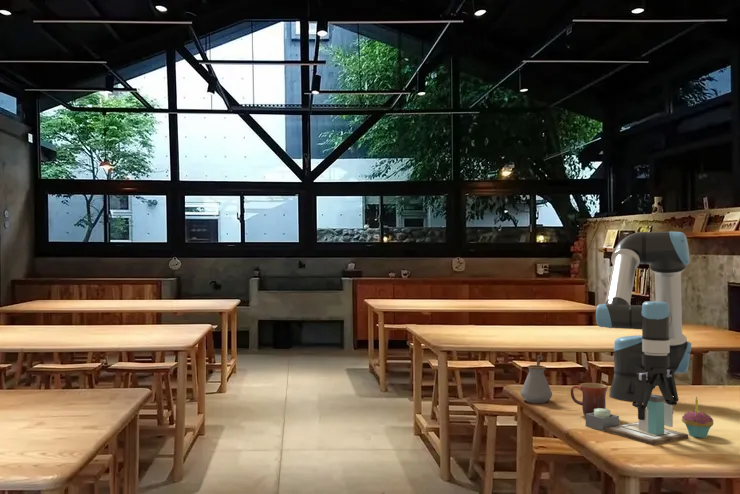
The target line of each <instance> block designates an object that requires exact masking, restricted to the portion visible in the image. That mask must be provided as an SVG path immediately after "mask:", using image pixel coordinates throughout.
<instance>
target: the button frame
mask: <svg viewBox="0 0 740 494" xmlns="http://www.w3.org/2000/svg"><path fill="white" fill-rule="evenodd" d="M618 425H620V415H616V414H612V413H610V417H605V418H602V417H598V416H594V413H588V414H586V416H585V427H589V428H592V429H595V430H598V431H601V432H606V431H605V428H606V427H612V426H618Z"/></svg>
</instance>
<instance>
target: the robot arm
mask: <svg viewBox="0 0 740 494" xmlns="http://www.w3.org/2000/svg"><path fill="white" fill-rule="evenodd" d="M612 251H613V252H612V254H611V259H610V262H611V264H612V269H611V273H610V278H609V283H608V287H607V291H606V292H607V293H606V298H605V302H604V303H600V304H597V306H596V308H595V309H596V310H595V320H596V324H597V326H598V327H600V328H607V329H624V330H625V329H626V330H642V331H641V334H642V335H637V334H636V335H625V336H620V337H617V338H616V339H614V344H613V345H614V347H613V352H614V353H613V356H614V357H613V359H614V364H613V372H614V373H613V374H614V375H613V378H612V382H611V385H610V387H609V395H608V396H609V397H611V398H613V399H616V400H622V401H632V403H631V404H632V407H634V408H637V419H638V422H639V430H642V431H645V432H648V409H647V404H648V401H649V399H650V396H651V395H652V394H653V391H654V389H655V388H656V386H658V388H659V390H660V393H661V396H664V427H669V428H673V427H674V425H673V423H674V422H673V420H674V416H673V415H674V406H676V405H678V402H679V394H678V390H677V386H676V381H675V374H685V373H687V372H688V370H689V367H690V365H689V364H690V357H691V352H692V351H691V350H692V343H691V342H689V341H688V338H687V336H686V335H685V334H683V312H682V310H683V307H682V304H683V302H682V273H683V272H684V271H686V266H687V265H690V263H691V257H690V249H689V243H688V238H687V235H686V234H685V232H682V231H673V230H671V231H670V230H669V231H639V232H634V233H631V234H629V235H628V236H625V237H624V238H623V239H622V240H620V241H619V242H618V243H617V244H616V245H615V248H614V249H613V250H612ZM640 265H649V269H650V271H651V272H653V274H654V291H655V293H654V295H655V301H652V300H651V301H644V302H643V303H642V305H638V304H637V305H634V304H632V305H631V302H632V301H631V299H632V293H633V288H634V281H635V274H636V269H637V268H638V267H639V266H640Z"/></svg>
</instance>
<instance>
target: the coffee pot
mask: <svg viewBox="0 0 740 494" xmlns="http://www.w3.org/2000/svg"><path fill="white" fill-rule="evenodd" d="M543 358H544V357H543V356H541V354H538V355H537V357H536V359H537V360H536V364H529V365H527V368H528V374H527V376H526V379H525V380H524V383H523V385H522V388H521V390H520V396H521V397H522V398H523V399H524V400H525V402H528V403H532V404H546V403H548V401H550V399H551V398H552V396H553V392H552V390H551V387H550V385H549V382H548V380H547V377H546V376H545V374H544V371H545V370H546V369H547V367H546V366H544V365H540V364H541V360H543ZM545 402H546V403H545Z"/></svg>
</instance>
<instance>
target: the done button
mask: <svg viewBox="0 0 740 494" xmlns="http://www.w3.org/2000/svg"><path fill="white" fill-rule="evenodd" d="M610 414H611V410H610V409H608V408H606V409H602V408H597V409H594V416H598V417H602V418H605V417H610Z"/></svg>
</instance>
